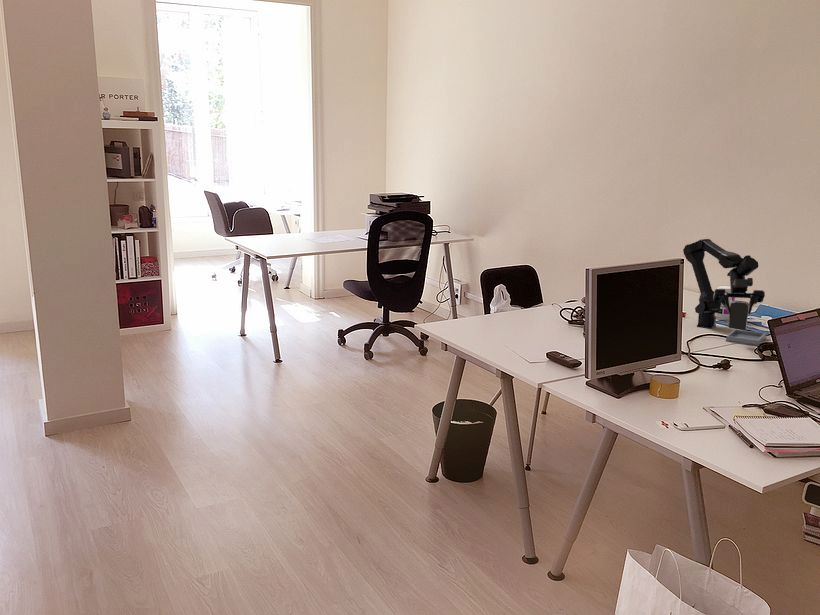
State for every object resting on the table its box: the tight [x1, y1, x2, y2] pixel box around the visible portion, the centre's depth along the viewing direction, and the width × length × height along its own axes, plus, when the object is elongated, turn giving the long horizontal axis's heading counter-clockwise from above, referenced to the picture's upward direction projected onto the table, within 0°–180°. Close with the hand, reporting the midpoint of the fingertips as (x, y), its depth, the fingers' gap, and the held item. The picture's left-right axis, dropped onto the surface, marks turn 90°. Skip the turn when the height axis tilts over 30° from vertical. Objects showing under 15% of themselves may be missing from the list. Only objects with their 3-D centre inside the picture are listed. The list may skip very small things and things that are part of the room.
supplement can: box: [715, 285, 736, 321], centre depth 322 cm, size 8×8×15 cm
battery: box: [728, 300, 750, 331], centre depth 283 cm, size 7×4×11 cm, turn 55°
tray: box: [725, 328, 767, 347], centre depth 291 cm, size 12×12×2 cm
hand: (739, 313), depth 281 cm, fingers closed on battery, 7 cm apart
